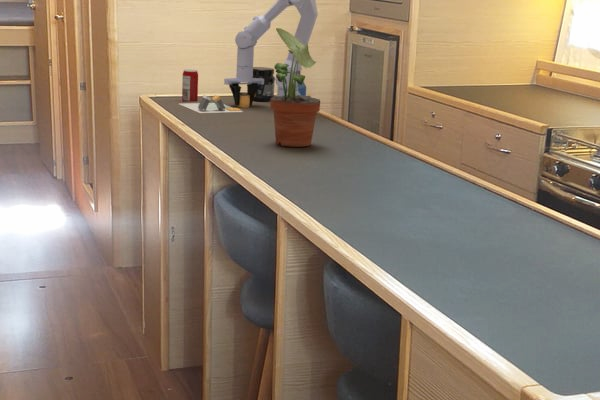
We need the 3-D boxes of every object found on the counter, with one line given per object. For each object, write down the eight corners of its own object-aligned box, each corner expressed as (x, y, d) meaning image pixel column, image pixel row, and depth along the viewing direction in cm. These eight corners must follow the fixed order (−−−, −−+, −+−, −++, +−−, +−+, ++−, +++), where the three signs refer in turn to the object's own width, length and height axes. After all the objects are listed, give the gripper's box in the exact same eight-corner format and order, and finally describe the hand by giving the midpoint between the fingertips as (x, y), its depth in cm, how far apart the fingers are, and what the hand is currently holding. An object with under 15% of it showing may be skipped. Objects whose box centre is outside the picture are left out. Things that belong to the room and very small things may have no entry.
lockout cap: (251, 110, 313) (252, 93, 312) (240, 110, 311) (240, 93, 309) (246, 108, 317) (246, 91, 315) (234, 108, 315) (235, 92, 313)
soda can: (198, 102, 325) (199, 69, 322) (195, 104, 320) (196, 70, 317) (183, 101, 326) (184, 68, 323) (180, 103, 320) (181, 69, 317)
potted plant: (257, 146, 252) (263, 20, 243) (279, 138, 265) (285, 18, 257) (308, 153, 246) (316, 24, 237) (328, 144, 260) (336, 23, 251)
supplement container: (242, 97, 342) (243, 66, 339) (267, 97, 347) (268, 66, 344) (253, 102, 333) (254, 70, 330) (278, 101, 337) (280, 70, 334)
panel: (243, 115, 302) (243, 110, 302) (199, 116, 295) (199, 111, 294) (219, 106, 319) (220, 101, 319) (177, 107, 311) (178, 102, 311)
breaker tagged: (226, 109, 301) (219, 96, 299) (222, 112, 301) (215, 99, 298) (222, 107, 304) (215, 95, 302) (218, 110, 304) (211, 97, 301)
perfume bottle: (283, 102, 335) (284, 71, 332) (291, 101, 341) (292, 69, 338) (297, 104, 333) (299, 72, 330) (305, 103, 338) (307, 71, 335)
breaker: (205, 112, 298) (211, 98, 297) (201, 110, 297) (207, 96, 296) (201, 110, 301) (207, 96, 300) (196, 108, 300) (203, 94, 300)
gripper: (258, 64, 317) (256, 102, 320) (221, 64, 310) (219, 103, 313) (267, 67, 311) (265, 105, 314) (229, 67, 304) (228, 106, 307)
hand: (243, 104), depth 313 cm, fingers closed on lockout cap, 4 cm apart
